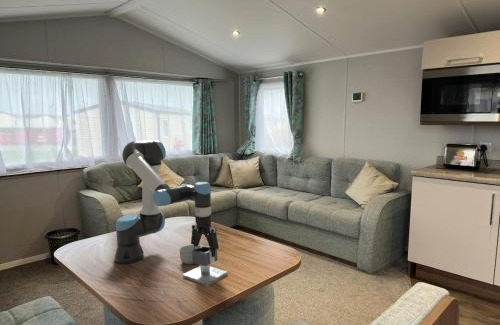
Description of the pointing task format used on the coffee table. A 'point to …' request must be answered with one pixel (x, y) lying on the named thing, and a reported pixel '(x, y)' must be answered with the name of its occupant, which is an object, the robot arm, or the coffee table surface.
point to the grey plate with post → (205, 274)
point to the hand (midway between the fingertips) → (205, 260)
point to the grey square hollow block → (202, 255)
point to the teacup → (186, 254)
